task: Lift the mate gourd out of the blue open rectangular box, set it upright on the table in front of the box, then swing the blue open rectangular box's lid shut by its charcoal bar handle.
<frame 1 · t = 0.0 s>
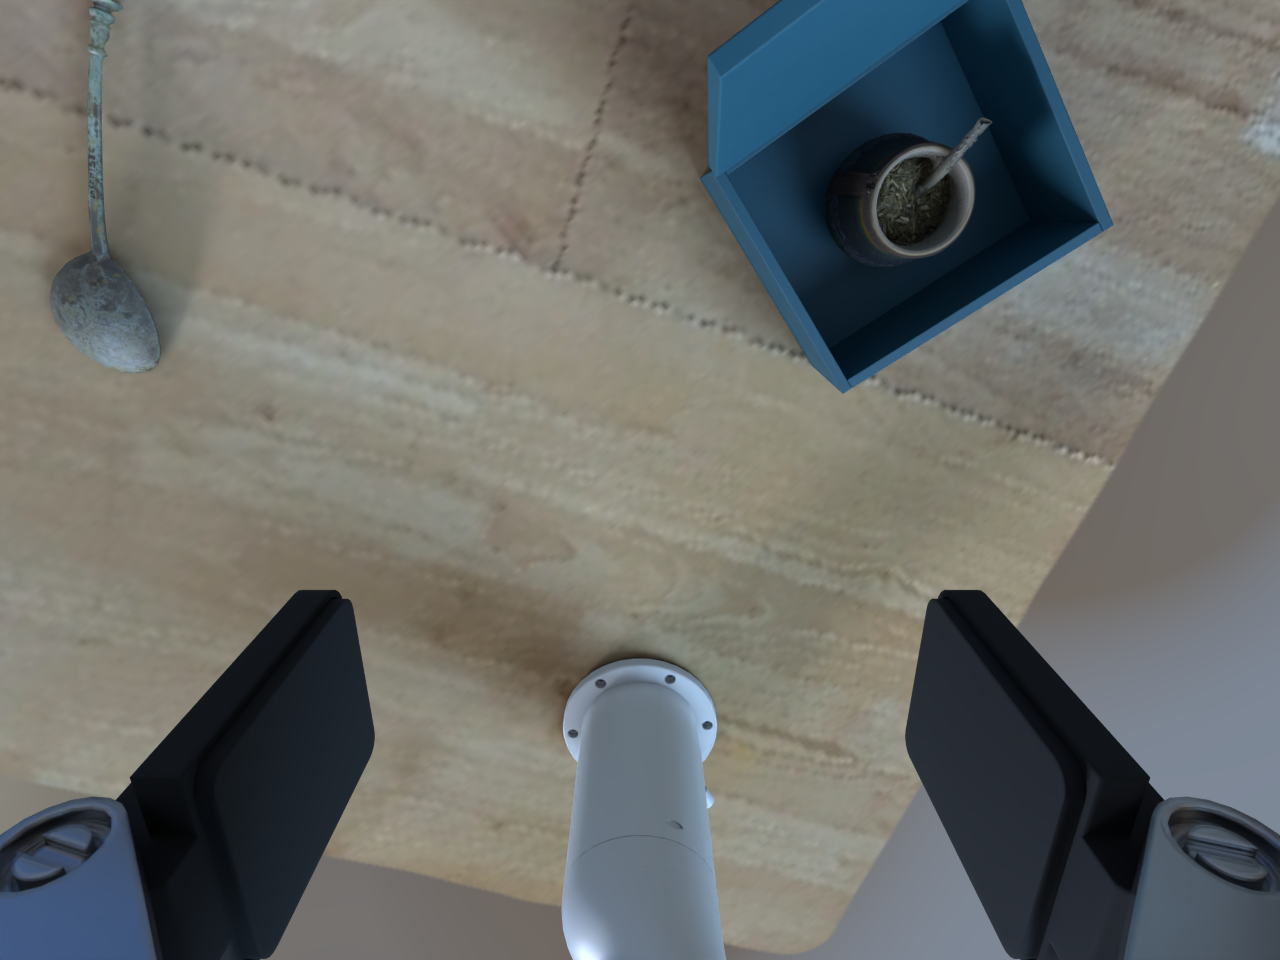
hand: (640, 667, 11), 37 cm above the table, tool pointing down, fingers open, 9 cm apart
soupspoon: (121, 202, 44), on the table
blue open rectangular box: (870, 200, 43), on the table
mate gourd: (872, 200, 43), resting on blue open rectangular box
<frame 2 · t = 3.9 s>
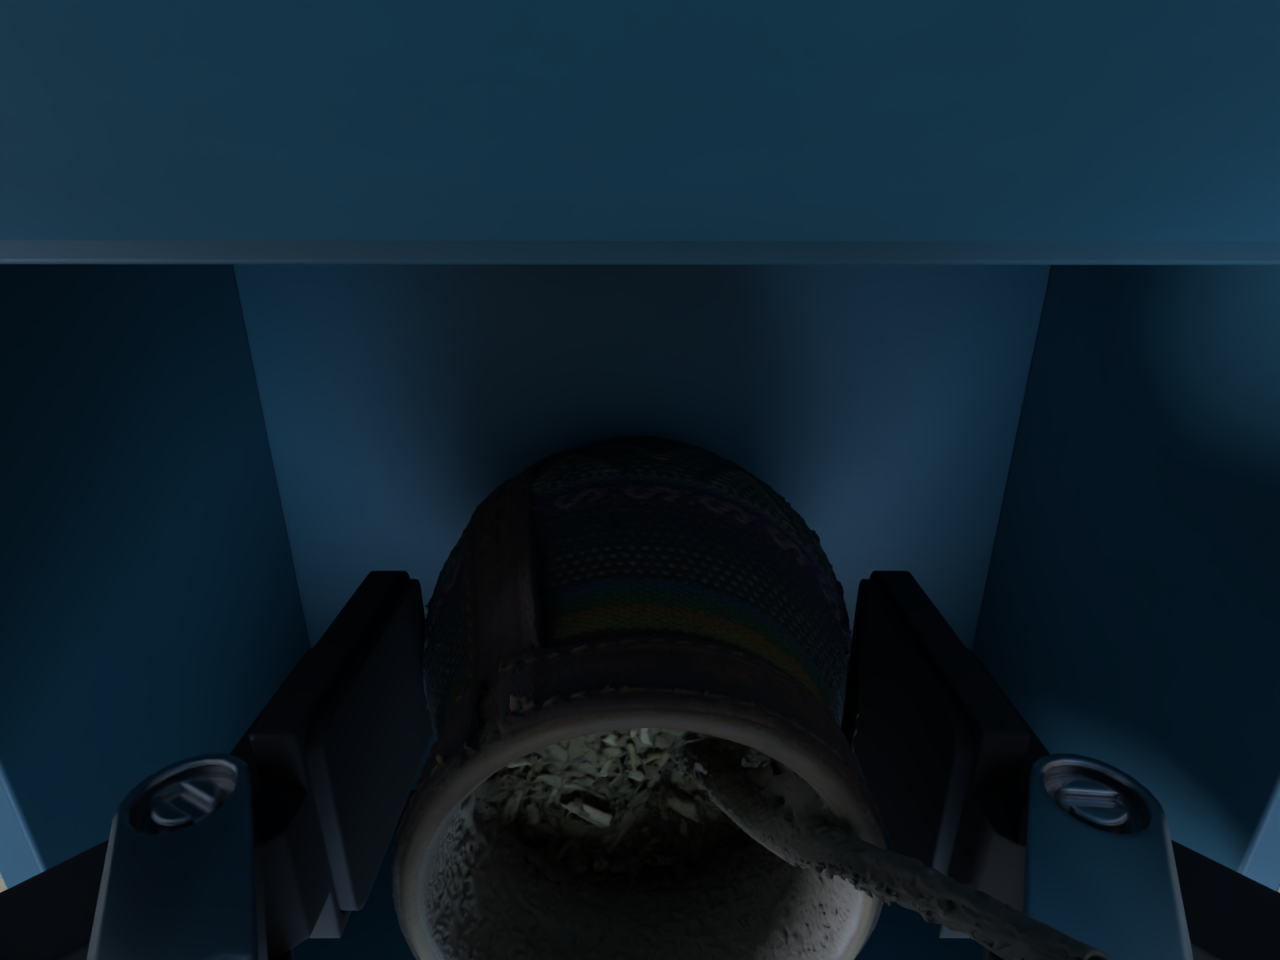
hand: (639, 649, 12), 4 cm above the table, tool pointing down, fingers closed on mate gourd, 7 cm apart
blue open rectangular box: (641, 543, 16), on the table
mate gourd: (641, 552, 15), resting on blue open rectangular box, touching gripper
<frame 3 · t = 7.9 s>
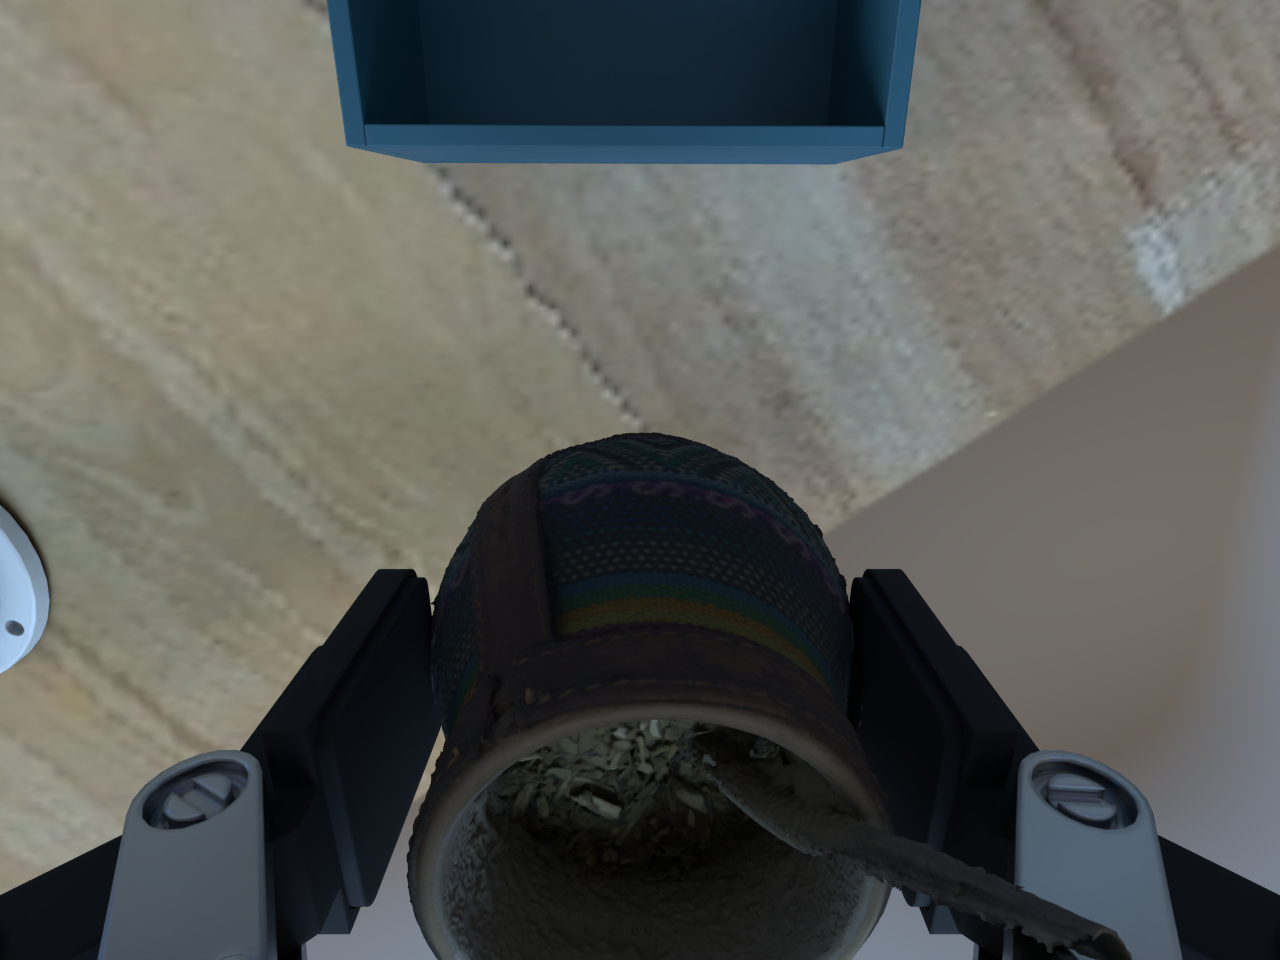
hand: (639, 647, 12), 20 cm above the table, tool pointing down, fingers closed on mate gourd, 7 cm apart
mate gourd: (643, 548, 15), point 16 cm above the table, touching gripper
when the fingers open (3 cm above the table, at t = 12.0 s): mate gourd stays where it is, on the table.
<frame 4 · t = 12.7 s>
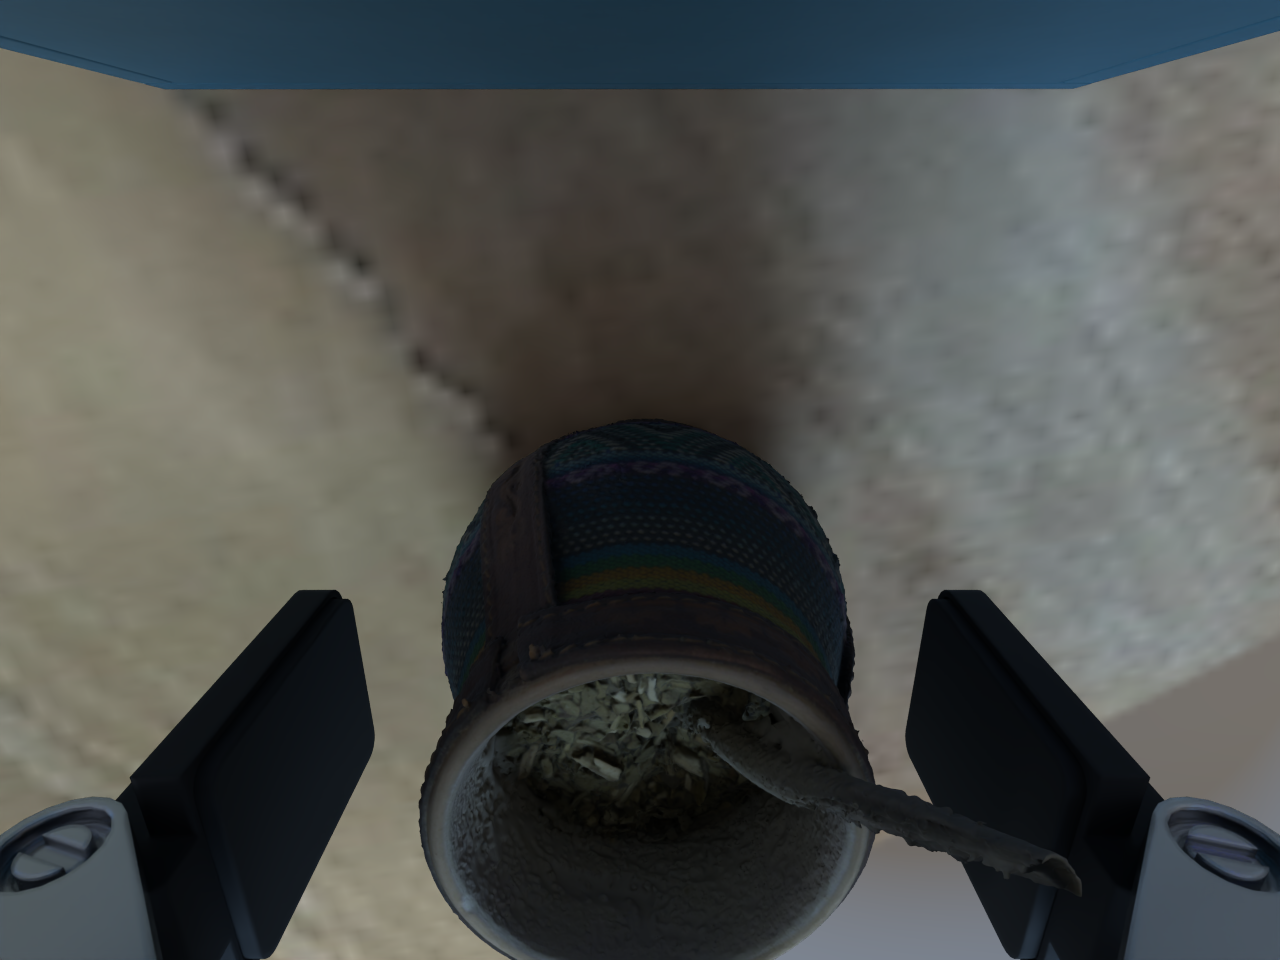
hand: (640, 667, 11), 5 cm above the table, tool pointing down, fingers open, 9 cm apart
mate gourd: (647, 533, 16), on the table
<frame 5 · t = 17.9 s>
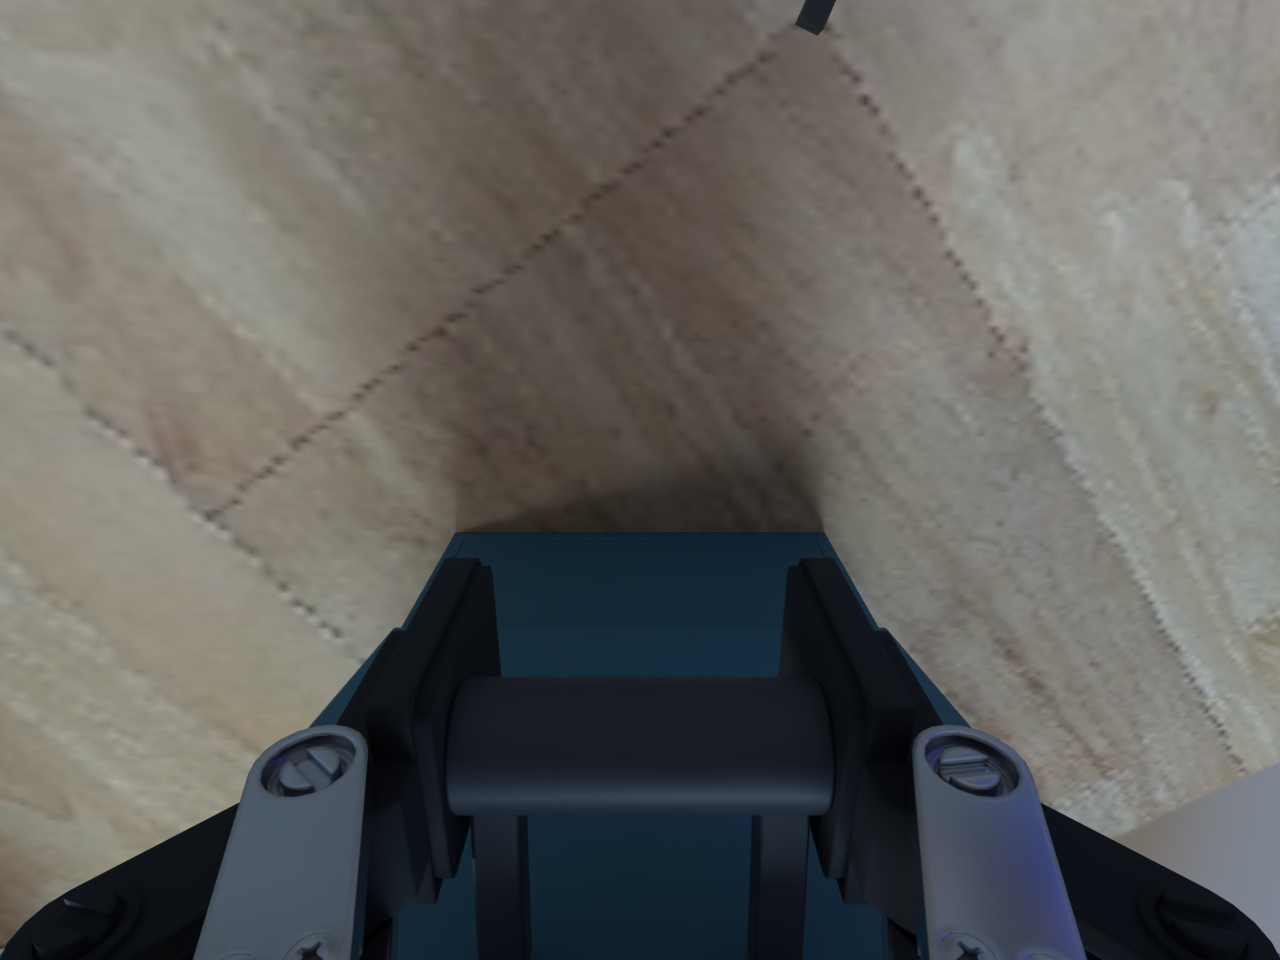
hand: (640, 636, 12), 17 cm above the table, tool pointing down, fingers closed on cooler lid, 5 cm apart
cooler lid: (639, 683, 15), point 15 cm above the table, hinge at 100.0°, touching gripper
blue open rectangular box: (639, 667, 33), on the table
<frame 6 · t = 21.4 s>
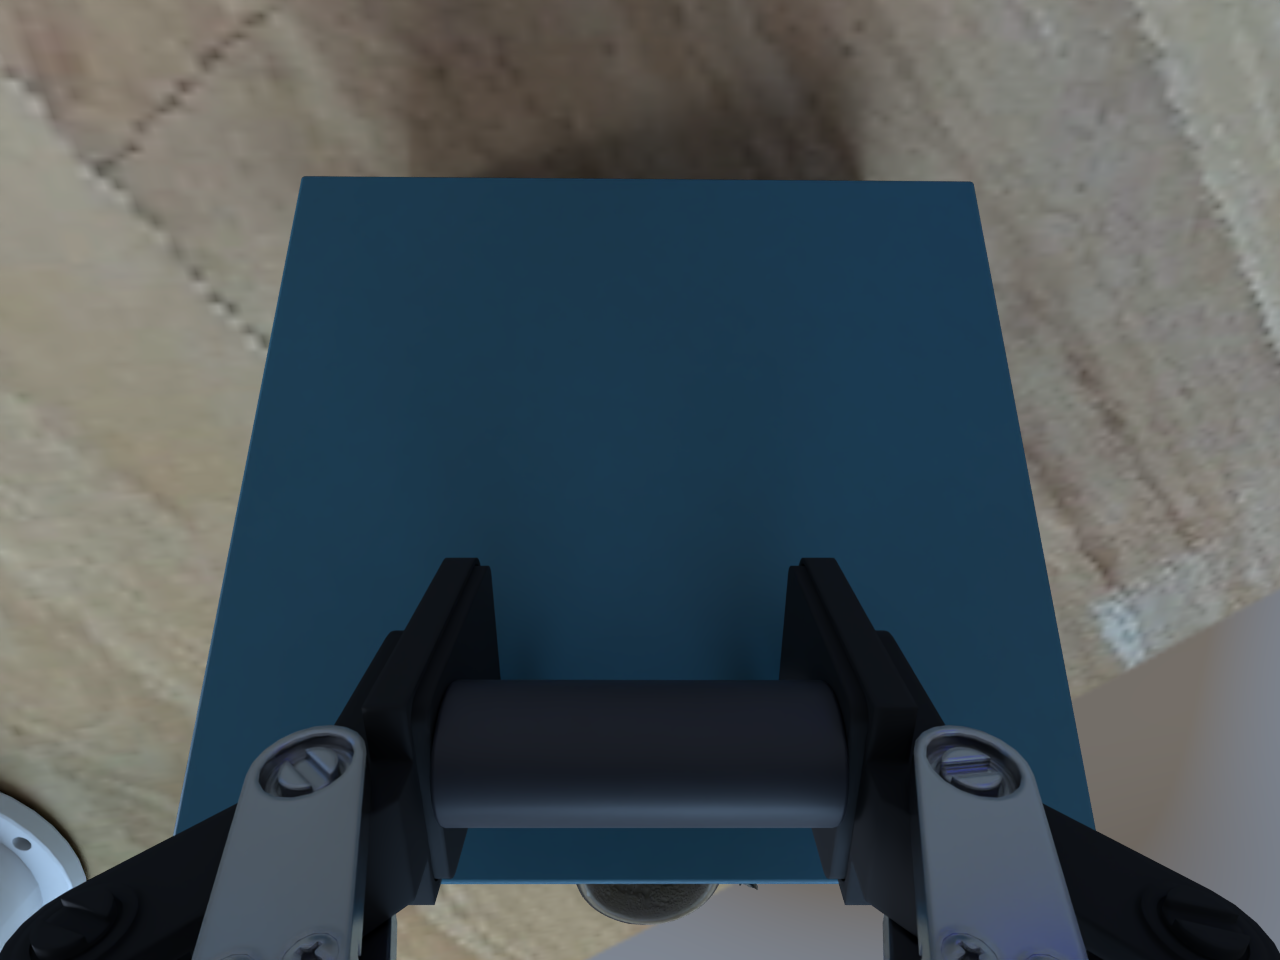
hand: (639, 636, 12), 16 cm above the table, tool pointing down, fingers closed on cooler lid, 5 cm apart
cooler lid: (639, 436, 12), point 15 cm above the table, hinge at 39.7°, touching gripper
mate gourd: (646, 719, 33), on the table
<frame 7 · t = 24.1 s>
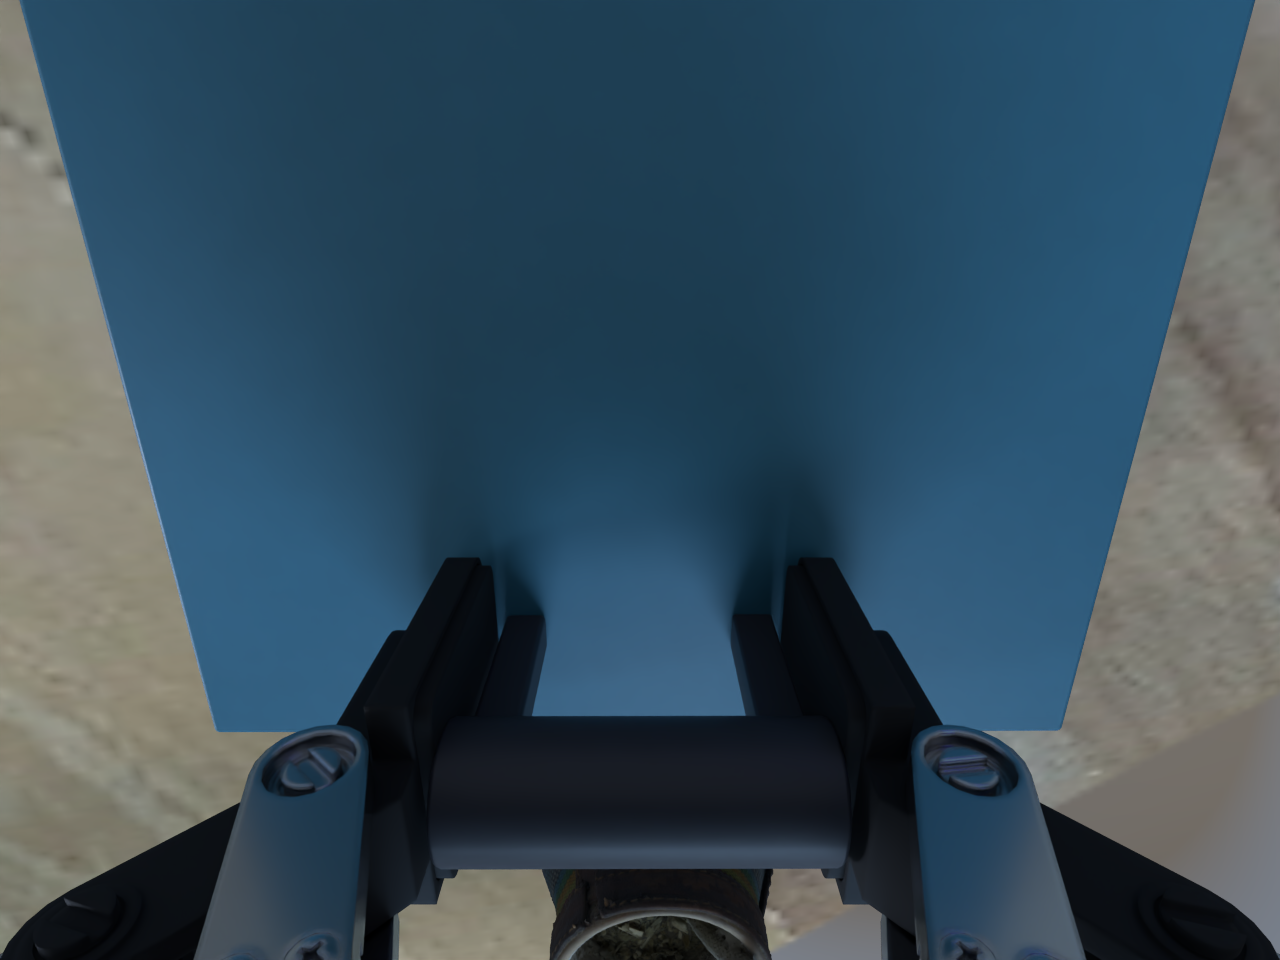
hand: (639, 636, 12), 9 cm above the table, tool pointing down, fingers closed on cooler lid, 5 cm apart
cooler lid: (638, 362, 9), point 10 cm above the table, hinge at 0.4°, touching gripper
mate gourd: (654, 741, 24), on the table
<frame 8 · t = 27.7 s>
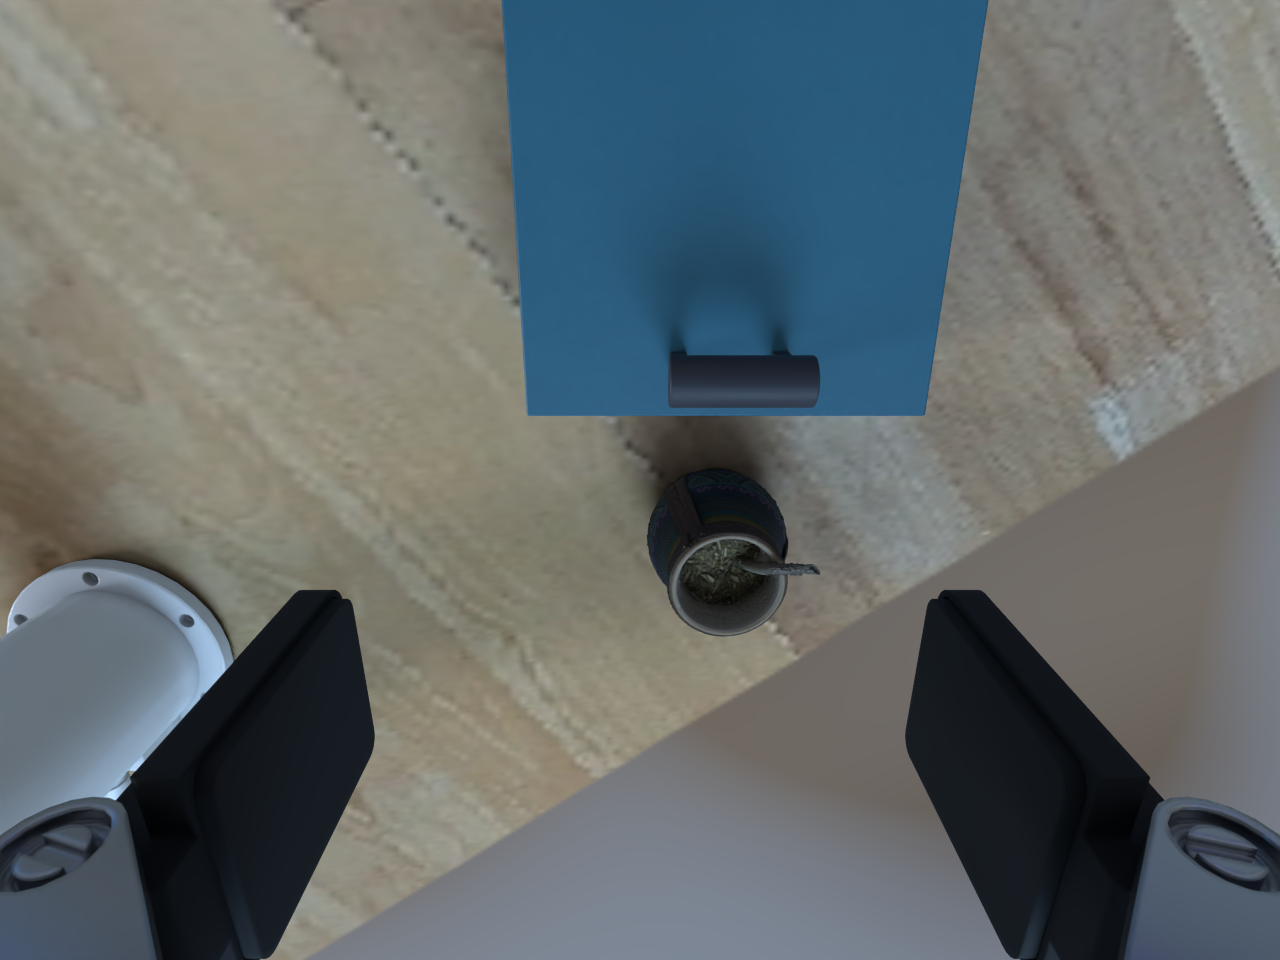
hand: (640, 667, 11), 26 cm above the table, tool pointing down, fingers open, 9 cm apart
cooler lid: (742, 219, 24), point 10 cm above the table, hinge at 0.1°
mate gourd: (711, 511, 39), on the table
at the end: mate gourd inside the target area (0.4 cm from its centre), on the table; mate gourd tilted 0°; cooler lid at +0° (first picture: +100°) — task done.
